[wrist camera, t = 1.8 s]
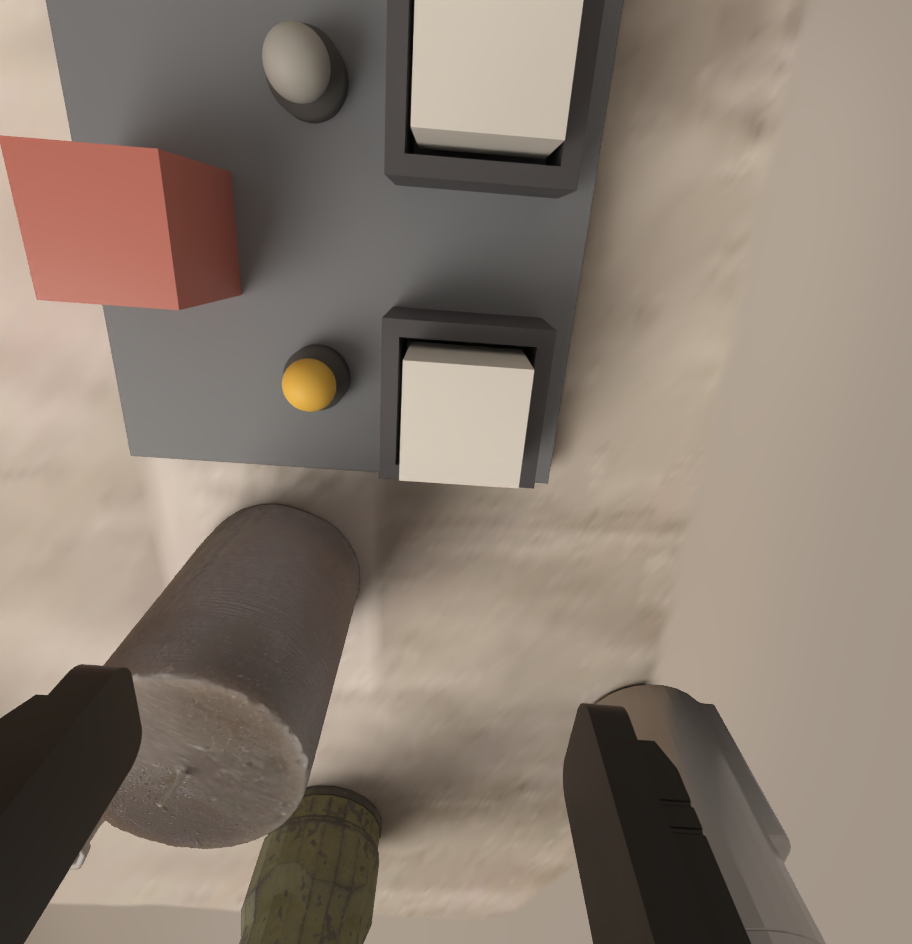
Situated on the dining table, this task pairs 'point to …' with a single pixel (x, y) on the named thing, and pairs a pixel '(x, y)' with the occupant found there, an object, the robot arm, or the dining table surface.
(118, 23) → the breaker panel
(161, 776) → the pillar candle
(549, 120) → the block
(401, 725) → the dining table surface
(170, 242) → the cap
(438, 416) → the button
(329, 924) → the thermos
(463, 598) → the dining table surface
